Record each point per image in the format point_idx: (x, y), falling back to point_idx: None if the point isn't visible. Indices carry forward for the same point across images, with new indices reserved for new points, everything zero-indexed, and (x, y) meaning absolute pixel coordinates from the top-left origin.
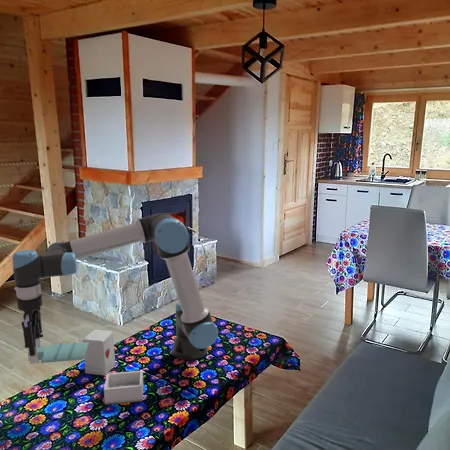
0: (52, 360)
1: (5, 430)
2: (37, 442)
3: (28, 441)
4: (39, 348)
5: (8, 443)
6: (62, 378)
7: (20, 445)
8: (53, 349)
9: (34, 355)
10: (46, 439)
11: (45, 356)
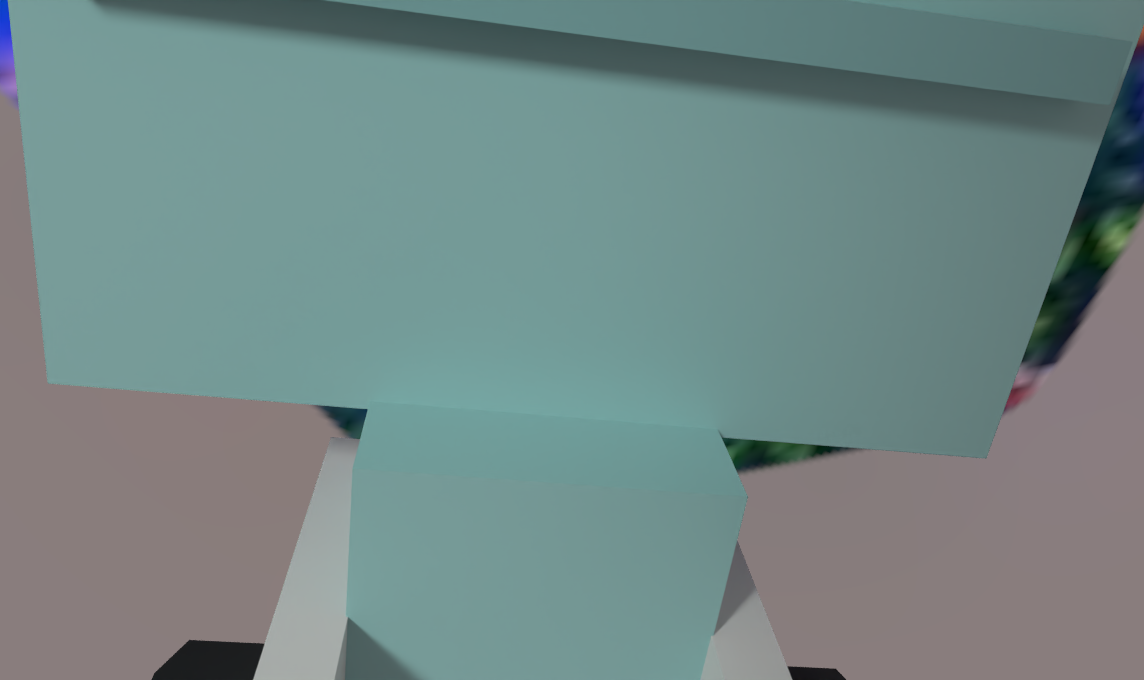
0: (1079, 153)
1: (836, 447)
2: (1136, 157)
3: (1080, 238)
4: (475, 631)
5: (1021, 391)
6: (7, 11)
7: (1097, 295)
8: (397, 203)
9: (839, 673)
10: (1139, 78)
11: (788, 378)
